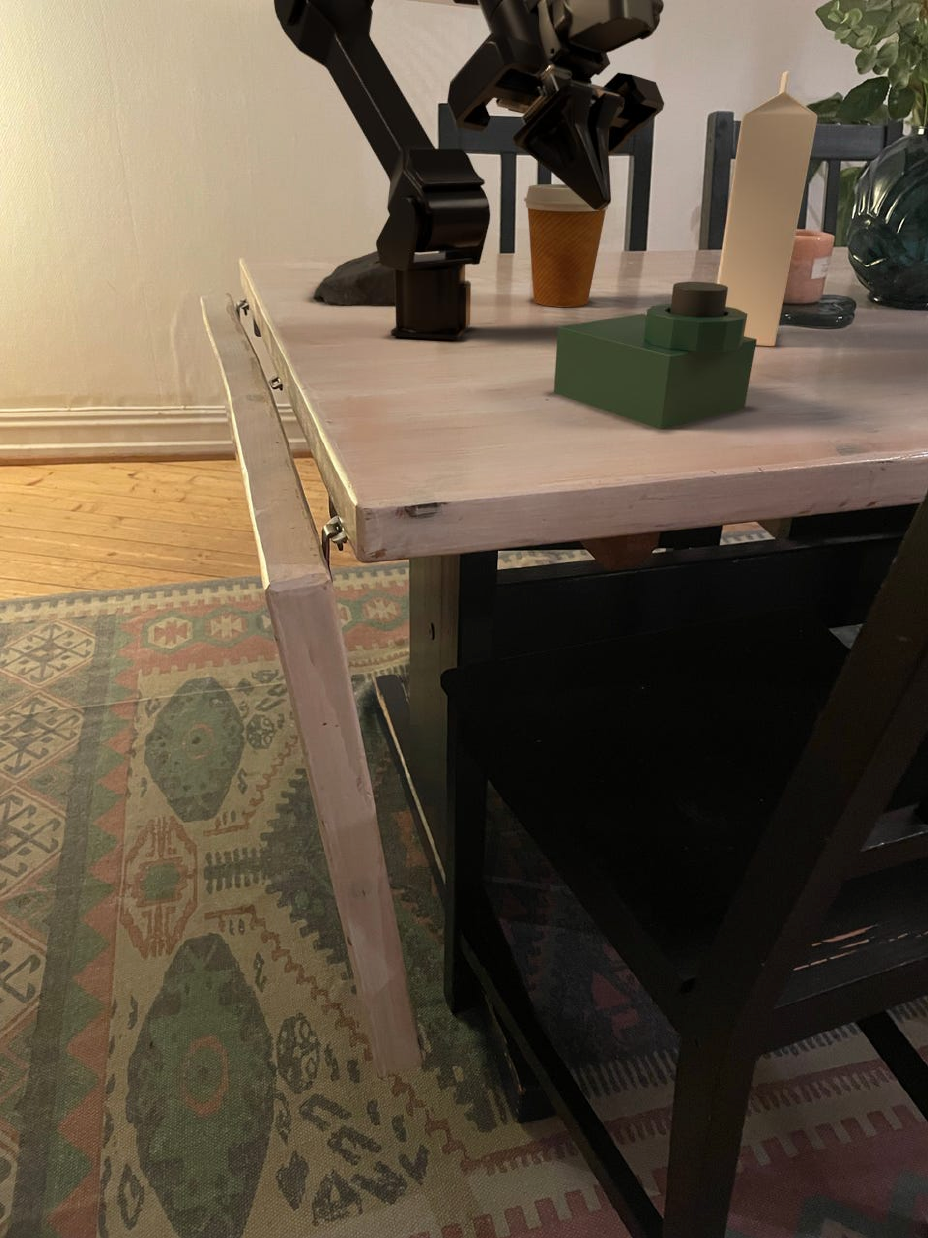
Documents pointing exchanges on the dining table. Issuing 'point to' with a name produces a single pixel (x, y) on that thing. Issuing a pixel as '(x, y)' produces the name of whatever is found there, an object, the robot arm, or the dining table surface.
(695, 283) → the button
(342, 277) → the dark slate chunk
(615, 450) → the dining table surface
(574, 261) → the disposable coffee cup
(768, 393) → the dining table surface
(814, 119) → the milk
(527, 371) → the dining table surface
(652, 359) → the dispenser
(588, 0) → the robot arm
